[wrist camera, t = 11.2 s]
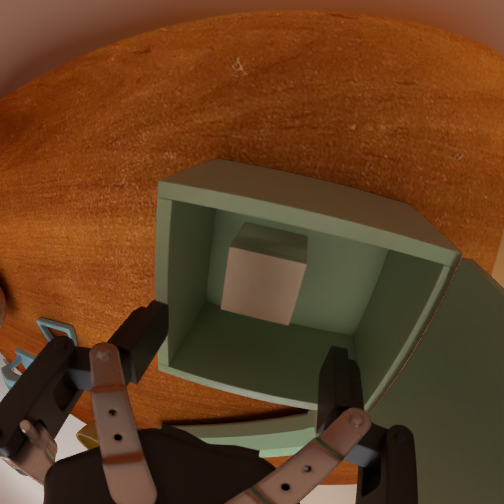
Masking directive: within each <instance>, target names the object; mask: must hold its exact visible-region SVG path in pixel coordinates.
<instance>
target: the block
mask: <svg viewBox="0 0 504 504" xmlns="http://www.w3.org/2000/svg"><path fill="white" fill-rule="evenodd" d="M307 250H308V236H306V235H301V234H297V233H293V232H288V231H284V230H280V229H275V228H271V227H266V226H262V225H257V224H253V223H248V222H245V223H244V225H243V226H242V228H241V229H240V231H239V232H238V234H237V235H236V237H235V238H234V240H233V242H232V243H231V245H230V246H229V251H228V258H227V265H226V272H225V279H224V287H223V294H222V302H221V309H222V310H226V311H230V312H234V313H237V314H241V315H245V316H250V317H254V318H258V319H262V320H266V321H271V322H275V323H279V324H284V325H290V321H291V318H292V315H293V311H294V308H295V305H296V301H297V298H298V295H299V291H300V288H301V284H302V281H303V277H304V274H305V270H306V267H307Z"/></svg>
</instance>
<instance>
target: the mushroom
mask: <svg viewBox="0 0 504 504" xmlns="http://www.w3.org/2000/svg"><path fill="white" fill-rule="evenodd" d="M6 313H7V303H6V299H5V295H4V292H3V290H2V288H1V286H0V329H1V327H2V325H3V324H4V321H5V317H6Z"/></svg>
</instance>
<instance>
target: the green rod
mask: <svg viewBox="0 0 504 504" xmlns="http://www.w3.org/2000/svg"><path fill="white" fill-rule="evenodd" d="M170 426H173V427H176V428H179V429H182V430H185V431H187V432H189V433H190V434H192V435H194V436H196V437H197V438H199V439H201V440H203V441H205V442H206V443H209V444H220V445H237V446H241V447H246V448H250V449H255V450H260V452H259V457H261V458H262V457H277V456H288V455H294V454H296V453H297V452H298V451H299V450H300V449H302V448H303V447H304V446H305V445H306V444H307V443H308V442H310V441H311V440H312V439H313V438H315V437H318V436H319V435H320V434H321V433H316V429H317V411H316V410H309V411H308V413H303V414H297V415H291V416H285V417H278V418H271V419H263V420H255V421H246V422H235V423H223V424H205V425H170ZM161 427H162V426H161ZM161 427H158V428H159V429H161Z"/></svg>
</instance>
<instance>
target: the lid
mask: <svg viewBox="0 0 504 504" xmlns="http://www.w3.org/2000/svg"><path fill="white" fill-rule="evenodd" d="M369 416H370V418H371V422H373V423H374V424H376V425H379V426H381V427H384V428H387V429H389V428H390V427H392V426H394V425H403V426H406V427H407V428H409V429H410V430H411V432H412V433H413V436H414V443H415V453H416V466H417V484H418V504H504V288H503V287H502V286H501V285H500V284H499V283H497V281H495V280H494V279H493V278H492V277H491V276H490V275H489V274H488V273H487V272H486V271H485V270H484V269H482V268H481V267H480V266H479V265H478V264H477V263H476V262H475V261H473V260H472V259H467V258H461V261H460V263H459V265H458V268H457V270H456V272H455V275H454V277H453V279H452V281H451V283H450V285H449V288H448V290H447V292H446V294H445V296H444V298H443V300H442V302H441V304H440V306H439V308H438V310H437V312H436V313H435V315H434V317H433V319H432V321H431V323H430V324H429V326H428V328H427V330H426V332H425V333H424V335H423V337H422V338H421V340H420V342H419V344H418V345H417V347H416V349H415V350H414V352H413V353H412V355H411V357H410V358H409V360H408V361H407V363H406V364H405V366H404V367H403V369H402V370H401V372H400V373H399V375H398V376H397V378H396V379H395V381H394V382H393V384H392V385H391V387H390V388H389V389H388V391H387V392H386V393H385V395H384V396H383V398H382V399H381V400H380V402H379V403H378V404H377V406H376V407H375V408H374V409H373V411H372V412H371V413H370V415H369Z"/></svg>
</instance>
